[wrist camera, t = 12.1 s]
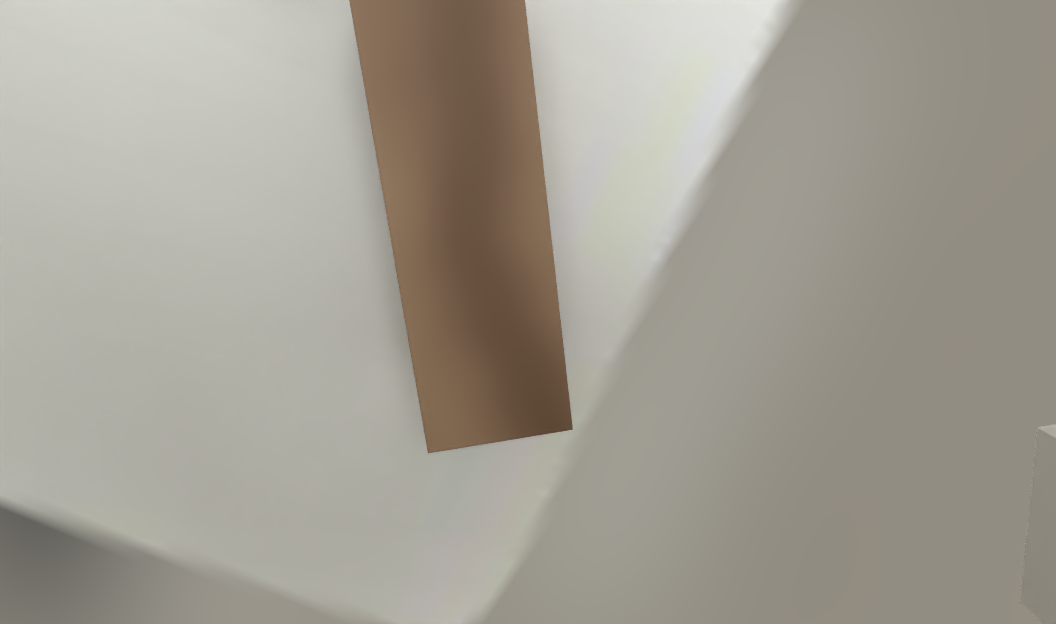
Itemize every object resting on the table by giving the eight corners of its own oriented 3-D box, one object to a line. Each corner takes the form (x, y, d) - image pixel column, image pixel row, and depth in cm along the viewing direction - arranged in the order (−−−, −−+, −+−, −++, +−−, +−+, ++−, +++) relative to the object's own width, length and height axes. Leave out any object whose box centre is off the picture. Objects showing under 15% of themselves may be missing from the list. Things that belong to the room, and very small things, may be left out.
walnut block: (427, 370, 34) (427, 453, 27) (366, 4, 30) (345, -22, 22) (540, 352, 35) (572, 429, 27) (496, -11, 30) (520, -41, 23)
